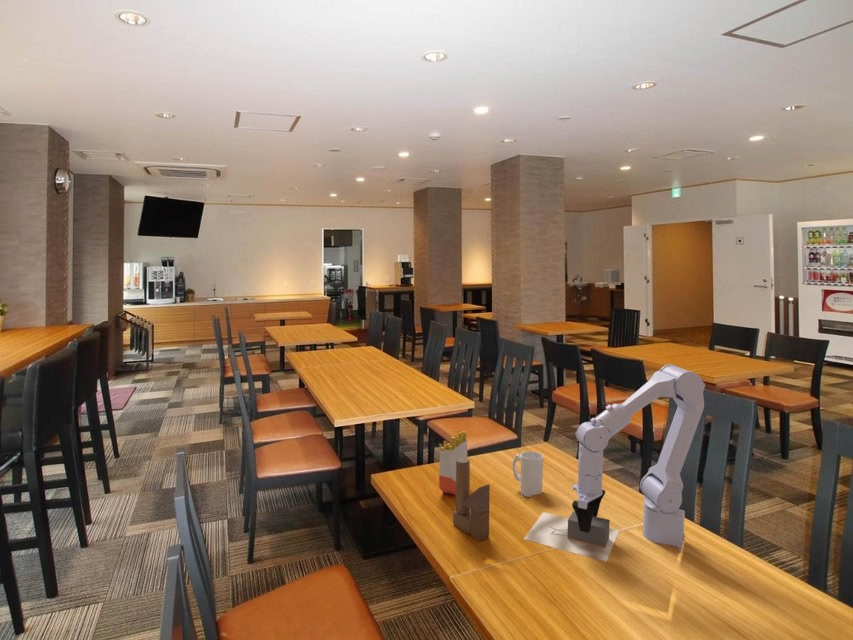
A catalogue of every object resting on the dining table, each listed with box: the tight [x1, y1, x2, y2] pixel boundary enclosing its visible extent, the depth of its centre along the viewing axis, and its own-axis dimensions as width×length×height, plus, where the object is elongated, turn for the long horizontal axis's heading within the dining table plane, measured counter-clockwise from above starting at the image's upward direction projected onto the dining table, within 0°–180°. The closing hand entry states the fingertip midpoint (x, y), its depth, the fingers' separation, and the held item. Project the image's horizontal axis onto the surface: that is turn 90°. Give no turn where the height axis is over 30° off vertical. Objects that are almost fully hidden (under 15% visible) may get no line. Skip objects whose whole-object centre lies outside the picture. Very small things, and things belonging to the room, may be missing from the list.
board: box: [523, 511, 620, 563], centre depth 132 cm, size 20×16×1 cm
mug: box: [512, 450, 544, 498], centre depth 158 cm, size 10×7×12 cm, turn 47°
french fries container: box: [438, 430, 468, 496], centre depth 159 cm, size 5×11×18 cm, turn 150°
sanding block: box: [567, 510, 611, 548], centre depth 129 cm, size 9×5×5 cm, turn 60°
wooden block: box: [452, 458, 491, 542], centre depth 135 cm, size 4×11×18 cm, turn 35°
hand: (588, 524), depth 129 cm, fingers open, 7 cm apart
